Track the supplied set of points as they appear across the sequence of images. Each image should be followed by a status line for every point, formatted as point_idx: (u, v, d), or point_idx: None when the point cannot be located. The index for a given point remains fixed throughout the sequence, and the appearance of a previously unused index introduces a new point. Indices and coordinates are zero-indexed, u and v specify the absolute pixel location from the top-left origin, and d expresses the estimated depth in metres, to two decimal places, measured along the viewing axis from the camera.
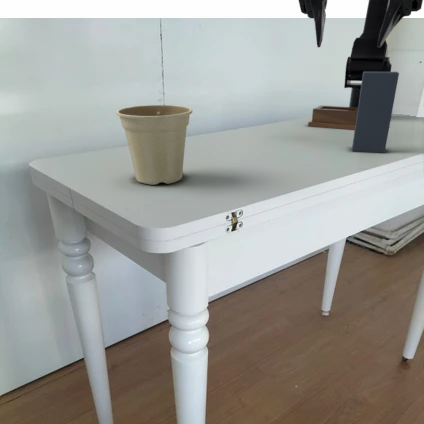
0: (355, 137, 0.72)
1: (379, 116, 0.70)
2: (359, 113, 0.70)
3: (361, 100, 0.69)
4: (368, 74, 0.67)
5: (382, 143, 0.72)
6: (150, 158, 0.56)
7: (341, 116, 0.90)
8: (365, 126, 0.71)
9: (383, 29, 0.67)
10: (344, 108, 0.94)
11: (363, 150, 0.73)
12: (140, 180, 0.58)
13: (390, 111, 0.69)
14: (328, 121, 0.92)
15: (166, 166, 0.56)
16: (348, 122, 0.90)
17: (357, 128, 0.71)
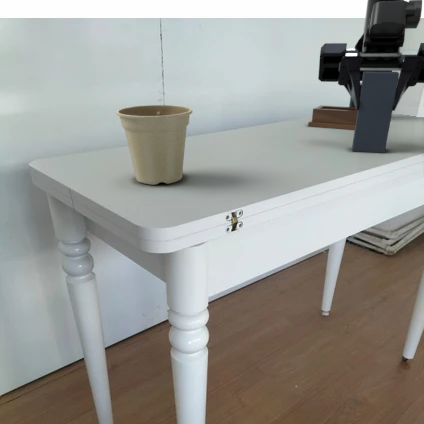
0: (355, 137, 0.72)
1: (379, 116, 0.70)
2: (359, 113, 0.70)
3: (361, 100, 0.69)
4: (368, 74, 0.67)
5: (382, 143, 0.72)
6: (150, 158, 0.56)
7: (341, 116, 0.90)
8: (365, 126, 0.71)
9: (397, 93, 0.68)
10: (344, 108, 0.94)
11: (363, 150, 0.73)
12: (140, 180, 0.58)
13: (390, 111, 0.69)
14: (328, 121, 0.92)
15: (166, 166, 0.56)
16: (348, 122, 0.90)
17: (357, 128, 0.71)
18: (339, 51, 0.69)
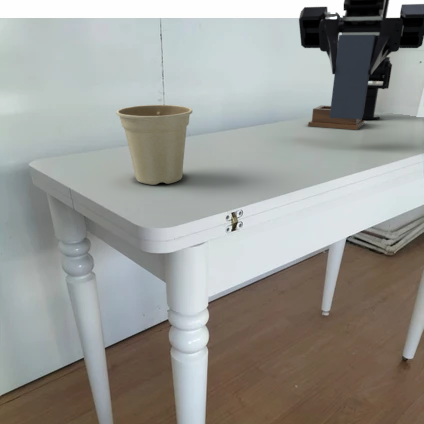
0: (332, 103, 0.71)
1: (355, 80, 0.69)
2: (335, 78, 0.69)
3: (337, 64, 0.68)
4: (343, 36, 0.66)
5: (359, 109, 0.70)
6: (150, 158, 0.56)
7: None
8: (342, 91, 0.70)
9: (374, 57, 0.67)
10: None
11: (340, 116, 0.72)
12: (140, 180, 0.58)
13: (366, 75, 0.68)
14: (328, 121, 0.92)
15: (166, 166, 0.56)
16: (348, 122, 0.90)
17: (334, 93, 0.71)
18: (318, 14, 0.69)
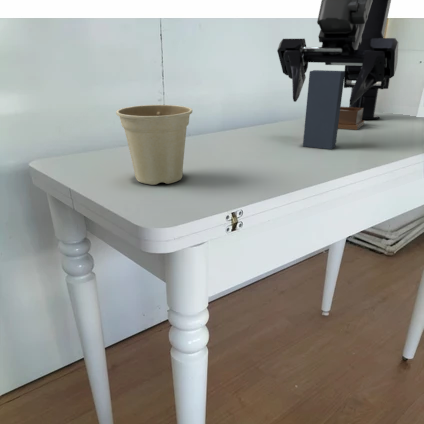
0: (304, 133, 0.76)
1: (325, 113, 0.73)
2: (307, 110, 0.74)
3: (308, 97, 0.73)
4: (313, 73, 0.71)
5: (329, 140, 0.74)
6: (150, 158, 0.56)
7: (341, 116, 0.90)
8: (313, 122, 0.74)
9: (355, 88, 0.70)
10: (344, 108, 0.94)
11: (312, 146, 0.76)
12: (140, 180, 0.58)
13: (335, 109, 0.72)
14: None
15: (166, 166, 0.56)
16: (348, 122, 0.90)
17: (306, 124, 0.75)
18: (294, 46, 0.73)
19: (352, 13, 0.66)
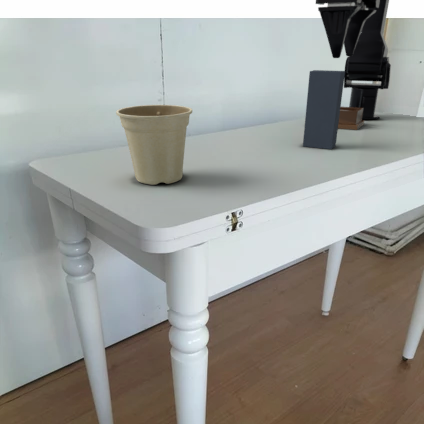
0: (304, 133, 0.76)
1: (325, 113, 0.73)
2: (307, 110, 0.74)
3: (308, 97, 0.73)
4: (313, 73, 0.71)
5: (329, 140, 0.74)
6: (150, 158, 0.56)
7: (341, 116, 0.90)
8: (313, 122, 0.74)
9: (356, 43, 0.80)
10: (344, 108, 0.94)
11: (312, 146, 0.76)
12: (140, 180, 0.58)
13: (335, 109, 0.72)
14: None
15: (166, 166, 0.56)
16: (348, 122, 0.90)
17: (306, 124, 0.75)
18: (360, 0, 0.67)
19: None
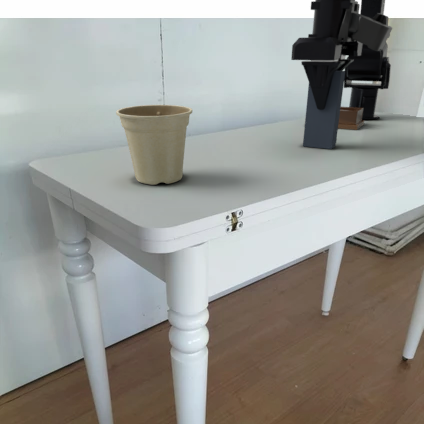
0: (304, 133, 0.76)
1: (325, 113, 0.73)
2: (307, 110, 0.74)
3: (308, 97, 0.73)
4: None
5: (329, 139, 0.74)
6: (150, 158, 0.56)
7: (341, 116, 0.90)
8: (313, 122, 0.74)
9: None
10: (344, 108, 0.94)
11: (312, 146, 0.76)
12: (140, 180, 0.58)
13: (335, 109, 0.72)
14: None
15: (166, 166, 0.56)
16: (348, 122, 0.90)
17: (306, 124, 0.75)
18: (338, 56, 0.64)
19: None
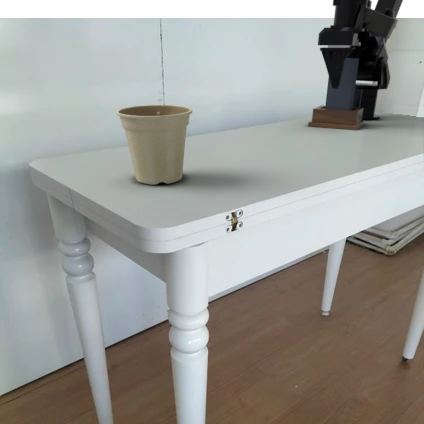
0: None
1: (342, 93, 0.90)
2: (328, 90, 0.91)
3: (329, 80, 0.90)
4: None
5: None
6: (150, 158, 0.56)
7: (341, 116, 0.90)
8: (332, 101, 0.91)
9: None
10: None
11: None
12: (140, 180, 0.58)
13: (350, 89, 0.89)
14: (328, 121, 0.92)
15: (166, 166, 0.56)
16: (348, 122, 0.90)
17: (326, 102, 0.92)
18: (355, 42, 0.80)
19: None
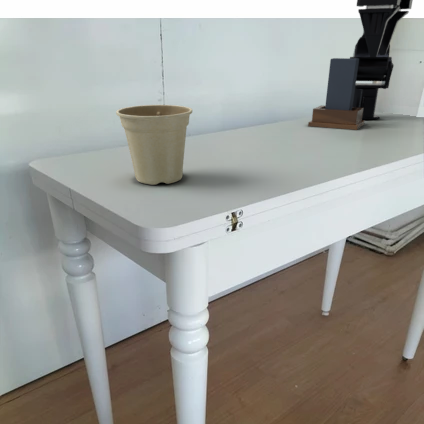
0: None
1: (342, 93, 0.90)
2: (328, 90, 0.91)
3: (329, 80, 0.90)
4: (333, 60, 0.88)
5: None
6: (150, 158, 0.56)
7: (341, 116, 0.90)
8: (332, 101, 0.91)
9: (389, 42, 0.84)
10: None
11: None
12: (140, 180, 0.58)
13: (350, 89, 0.89)
14: (328, 121, 0.92)
15: (166, 166, 0.56)
16: (348, 122, 0.90)
17: (326, 102, 0.92)
18: (399, 2, 0.71)
19: None
